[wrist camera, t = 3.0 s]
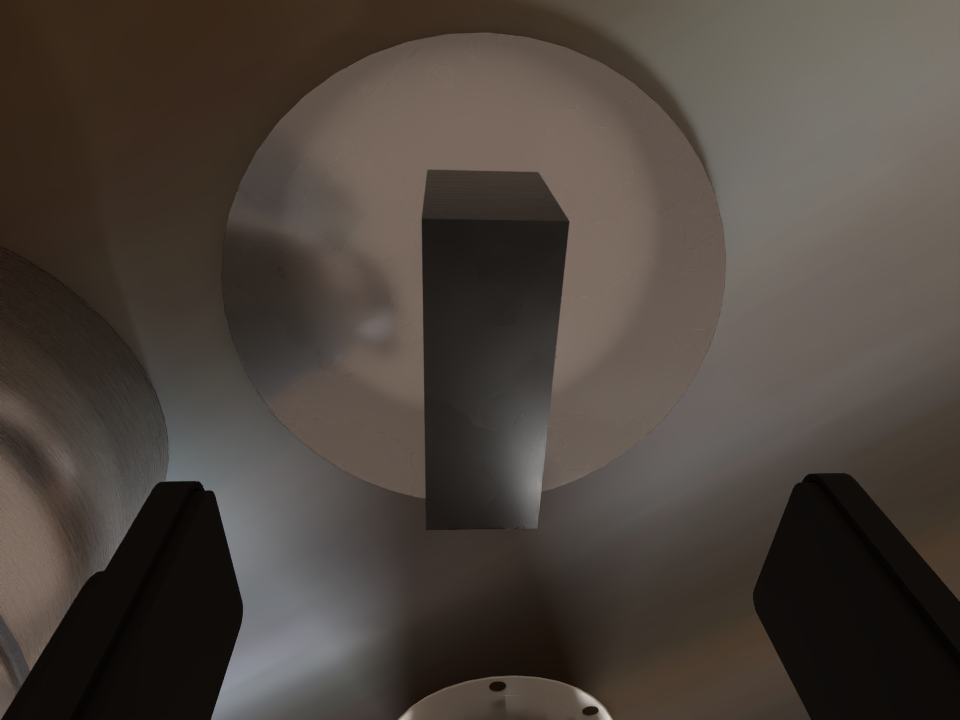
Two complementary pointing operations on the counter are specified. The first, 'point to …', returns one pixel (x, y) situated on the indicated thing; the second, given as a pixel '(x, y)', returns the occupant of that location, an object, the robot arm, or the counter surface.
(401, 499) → the counter surface
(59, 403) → the pot
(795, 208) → the counter surface
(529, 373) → the lid
